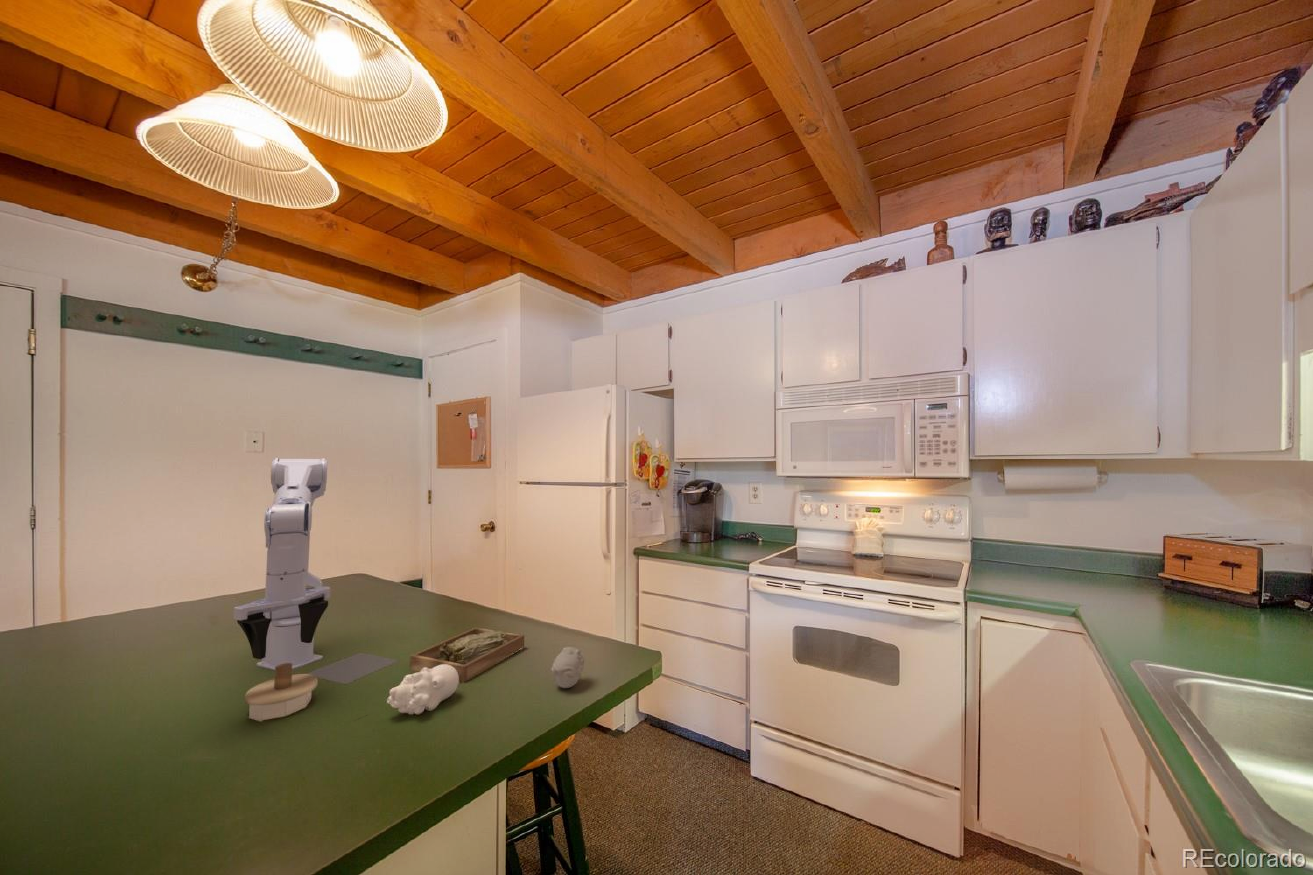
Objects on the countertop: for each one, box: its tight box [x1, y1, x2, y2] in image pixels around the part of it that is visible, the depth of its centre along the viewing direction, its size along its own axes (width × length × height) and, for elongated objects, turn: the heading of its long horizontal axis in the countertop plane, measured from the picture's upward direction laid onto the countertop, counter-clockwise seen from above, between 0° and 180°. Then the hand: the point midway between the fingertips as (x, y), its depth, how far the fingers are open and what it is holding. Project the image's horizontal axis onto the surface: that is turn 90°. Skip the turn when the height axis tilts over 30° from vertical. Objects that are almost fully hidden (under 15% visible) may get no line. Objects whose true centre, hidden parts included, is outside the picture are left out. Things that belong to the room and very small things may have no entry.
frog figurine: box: [550, 646, 585, 689], centre depth 92 cm, size 6×7×7 cm
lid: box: [244, 663, 319, 706], centre depth 84 cm, size 10×10×4 cm
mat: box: [305, 652, 400, 685], centre depth 100 cm, size 12×12×1 cm
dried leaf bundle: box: [438, 629, 507, 665], centre depth 105 cm, size 14×10×5 cm, turn 140°
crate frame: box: [409, 627, 525, 683], centre depth 105 cm, size 15×19×3 cm
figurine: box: [386, 664, 459, 716], centre depth 84 cm, size 7×7×12 cm
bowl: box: [248, 690, 313, 722], centre depth 84 cm, size 8×8×3 cm
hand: (283, 649), depth 84 cm, fingers open, 7 cm apart
